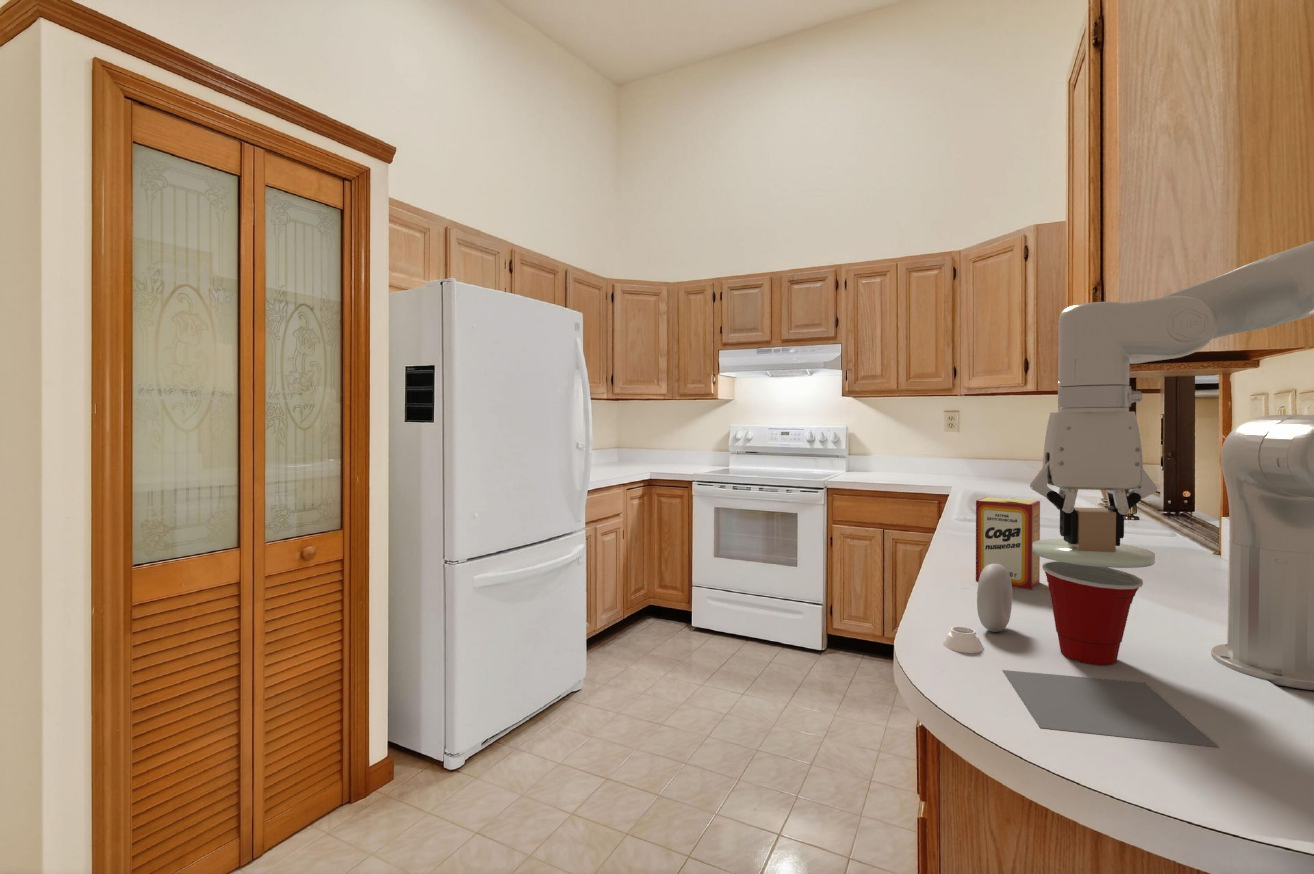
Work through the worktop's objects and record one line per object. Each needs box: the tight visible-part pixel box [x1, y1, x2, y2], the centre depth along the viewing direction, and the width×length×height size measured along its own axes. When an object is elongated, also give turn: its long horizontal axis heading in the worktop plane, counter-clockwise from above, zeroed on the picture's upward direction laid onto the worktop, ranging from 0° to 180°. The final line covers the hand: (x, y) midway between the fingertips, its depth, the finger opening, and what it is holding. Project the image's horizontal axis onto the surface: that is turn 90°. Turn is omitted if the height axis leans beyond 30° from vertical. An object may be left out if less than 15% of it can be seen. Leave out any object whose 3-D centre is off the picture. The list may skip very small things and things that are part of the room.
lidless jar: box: [942, 626, 985, 654], centre depth 86 cm, size 5×3×5 cm
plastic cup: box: [1042, 560, 1144, 666], centre depth 82 cm, size 11×11×12 cm
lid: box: [1032, 506, 1156, 569], centre depth 81 cm, size 13×13×6 cm
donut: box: [976, 564, 1013, 633], centre depth 94 cm, size 10×4×10 cm, turn 141°
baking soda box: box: [975, 496, 1041, 590], centre depth 121 cm, size 10×6×16 cm
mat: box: [1001, 669, 1221, 749], centre depth 69 cm, size 15×15×1 cm
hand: (1091, 541), depth 81 cm, fingers closed on lid, 4 cm apart
